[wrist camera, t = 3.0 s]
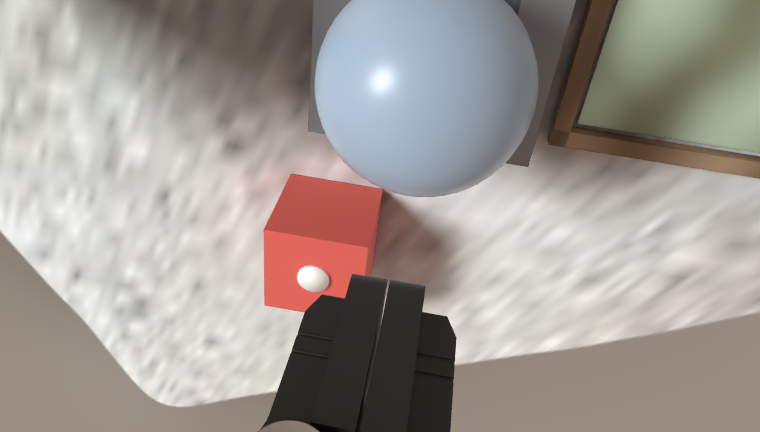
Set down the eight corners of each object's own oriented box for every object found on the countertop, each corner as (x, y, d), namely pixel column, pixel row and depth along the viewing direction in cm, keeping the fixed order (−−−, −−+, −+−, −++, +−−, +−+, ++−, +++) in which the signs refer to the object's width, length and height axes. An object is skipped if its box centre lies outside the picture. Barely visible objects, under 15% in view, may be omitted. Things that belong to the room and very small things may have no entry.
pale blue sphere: (337, 107, 28) (287, 220, 21) (350, -76, 23) (292, -8, 17) (507, 134, 28) (512, 259, 21) (553, -46, 23) (579, 35, 16)
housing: (322, 102, 31) (308, 131, 28) (334, -126, 25) (317, -114, 22) (525, 134, 30) (528, 166, 28) (587, -91, 24) (597, -75, 22)
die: (289, 245, 37) (263, 307, 32) (290, 174, 34) (262, 231, 29) (373, 260, 36) (358, 324, 32) (382, 189, 33) (367, 249, 29)
